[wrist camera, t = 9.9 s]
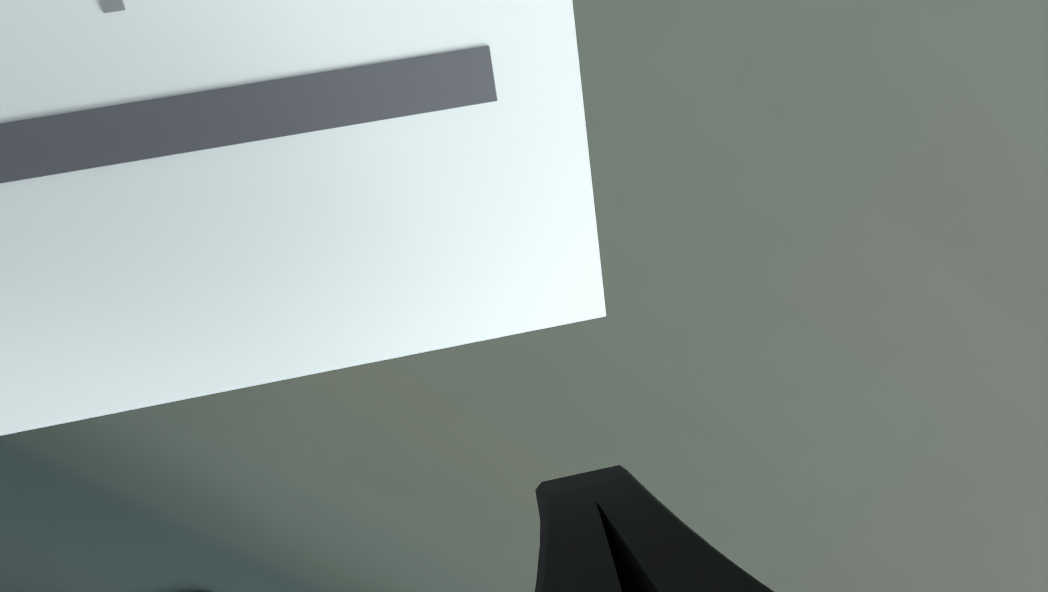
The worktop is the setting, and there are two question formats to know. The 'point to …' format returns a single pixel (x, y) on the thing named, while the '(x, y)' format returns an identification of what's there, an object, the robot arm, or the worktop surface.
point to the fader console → (279, 191)
